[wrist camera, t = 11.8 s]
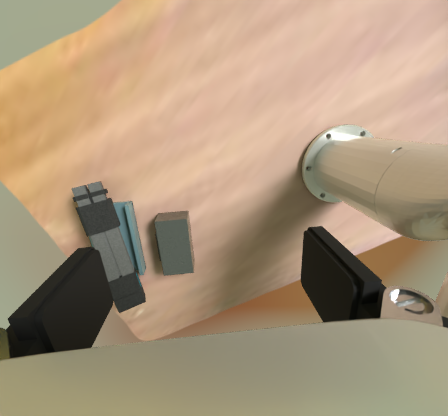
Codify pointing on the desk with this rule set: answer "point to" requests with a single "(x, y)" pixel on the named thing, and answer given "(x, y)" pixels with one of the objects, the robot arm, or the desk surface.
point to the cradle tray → (130, 234)
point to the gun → (109, 244)
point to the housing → (174, 242)
